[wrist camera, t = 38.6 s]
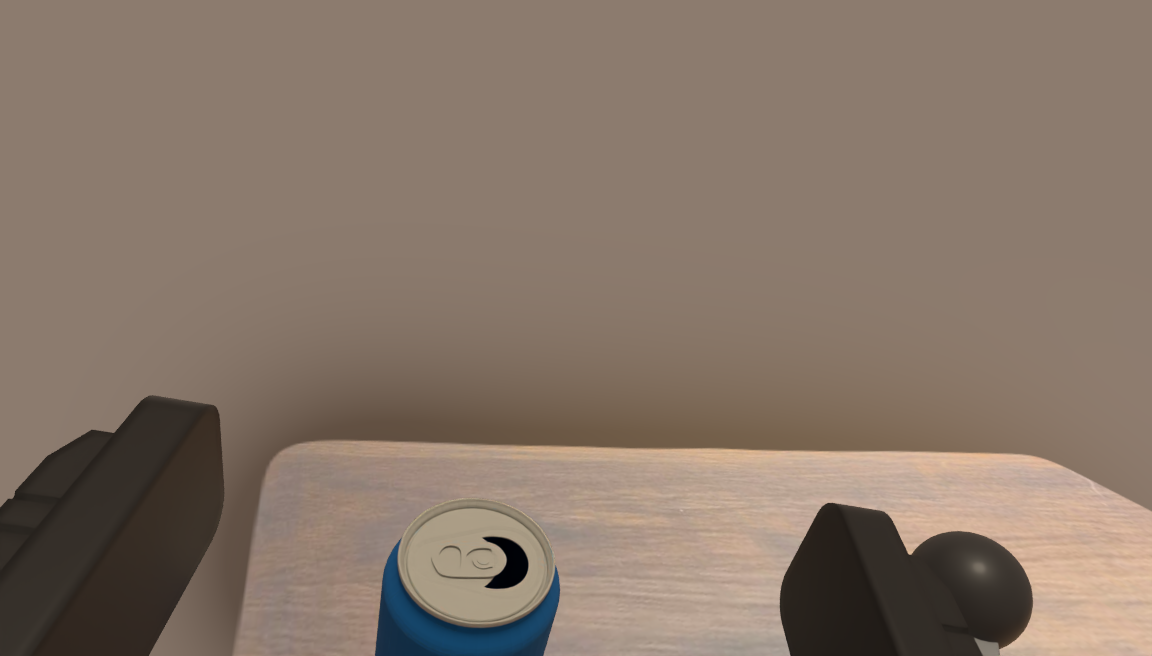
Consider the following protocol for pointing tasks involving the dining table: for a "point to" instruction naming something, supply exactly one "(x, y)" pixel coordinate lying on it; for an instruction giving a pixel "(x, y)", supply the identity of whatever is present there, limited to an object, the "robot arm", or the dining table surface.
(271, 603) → the dining table surface
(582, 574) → the dining table surface
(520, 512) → the beverage can
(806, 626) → the robot arm
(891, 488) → the dining table surface
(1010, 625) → the press lever
